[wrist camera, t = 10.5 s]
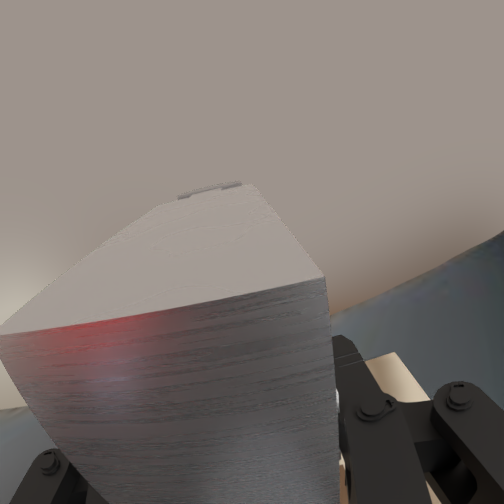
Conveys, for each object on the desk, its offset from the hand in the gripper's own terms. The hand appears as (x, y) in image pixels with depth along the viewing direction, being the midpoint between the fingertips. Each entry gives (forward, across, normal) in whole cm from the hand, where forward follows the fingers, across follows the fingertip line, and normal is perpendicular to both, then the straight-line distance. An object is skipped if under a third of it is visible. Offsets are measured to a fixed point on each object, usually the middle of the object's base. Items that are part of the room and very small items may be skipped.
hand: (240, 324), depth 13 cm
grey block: (-4, 0, -6) cm, 8 cm away
